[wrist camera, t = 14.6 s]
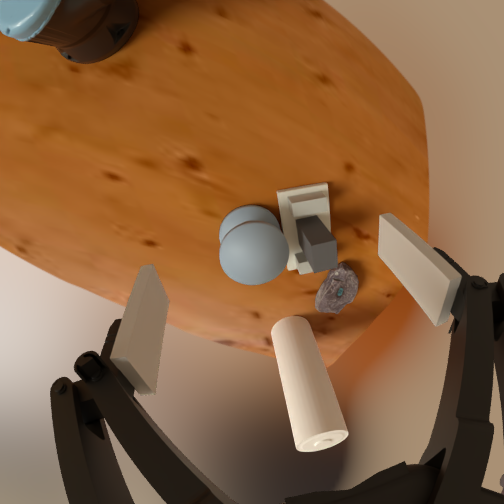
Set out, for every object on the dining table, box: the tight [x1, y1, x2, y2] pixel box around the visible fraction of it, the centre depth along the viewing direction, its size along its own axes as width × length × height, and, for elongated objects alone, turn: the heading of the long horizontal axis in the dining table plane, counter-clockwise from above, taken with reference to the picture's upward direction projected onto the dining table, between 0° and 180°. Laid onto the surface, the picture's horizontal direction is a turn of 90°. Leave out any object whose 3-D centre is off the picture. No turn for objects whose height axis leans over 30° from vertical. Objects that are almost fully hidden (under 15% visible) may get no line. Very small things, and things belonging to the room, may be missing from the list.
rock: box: [315, 262, 359, 314], centre depth 58 cm, size 8×11×5 cm
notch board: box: [277, 182, 331, 275], centre depth 50 cm, size 16×9×5 cm, turn 10°
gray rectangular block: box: [296, 215, 338, 273], centre depth 47 cm, size 5×4×10 cm
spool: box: [219, 205, 289, 285], centre depth 48 cm, size 11×11×8 cm
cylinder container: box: [271, 316, 348, 452], centre depth 52 cm, size 9×9×30 cm
